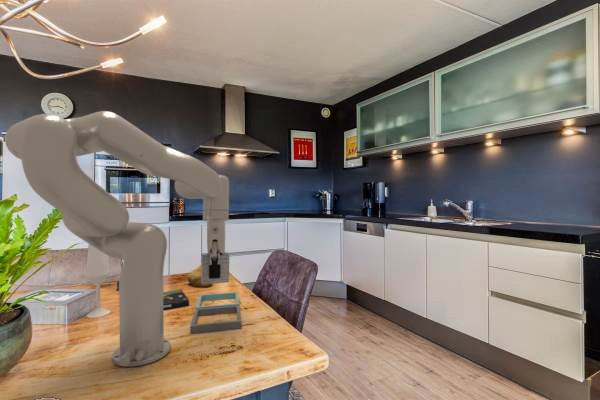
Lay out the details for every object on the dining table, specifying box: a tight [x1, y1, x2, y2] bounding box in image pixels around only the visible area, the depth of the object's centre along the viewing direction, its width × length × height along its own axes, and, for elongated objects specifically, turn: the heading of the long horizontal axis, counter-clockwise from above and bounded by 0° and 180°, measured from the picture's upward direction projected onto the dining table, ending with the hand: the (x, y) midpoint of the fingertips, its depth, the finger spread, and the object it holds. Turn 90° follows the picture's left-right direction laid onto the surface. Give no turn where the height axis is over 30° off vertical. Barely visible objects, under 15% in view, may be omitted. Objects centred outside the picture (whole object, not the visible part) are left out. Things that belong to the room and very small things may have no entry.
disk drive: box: [163, 289, 190, 311], centre depth 112 cm, size 10×3×15 cm
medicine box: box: [200, 251, 230, 285], centre depth 94 cm, size 8×4×9 cm, turn 111°
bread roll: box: [187, 264, 212, 288], centre depth 135 cm, size 13×10×8 cm
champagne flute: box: [85, 243, 111, 319], centre depth 102 cm, size 7×7×24 cm
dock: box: [189, 291, 242, 334], centre depth 102 cm, size 29×14×2 cm, turn 13°
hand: (215, 275), depth 94 cm, fingers closed on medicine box, 4 cm apart
